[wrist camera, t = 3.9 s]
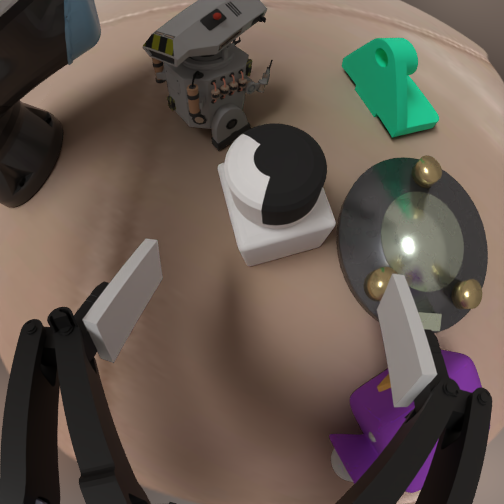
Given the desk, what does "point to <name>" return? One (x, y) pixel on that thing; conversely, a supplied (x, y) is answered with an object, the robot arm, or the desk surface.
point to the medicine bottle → (276, 192)
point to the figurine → (208, 65)
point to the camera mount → (390, 85)
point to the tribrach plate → (413, 240)
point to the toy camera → (388, 421)
